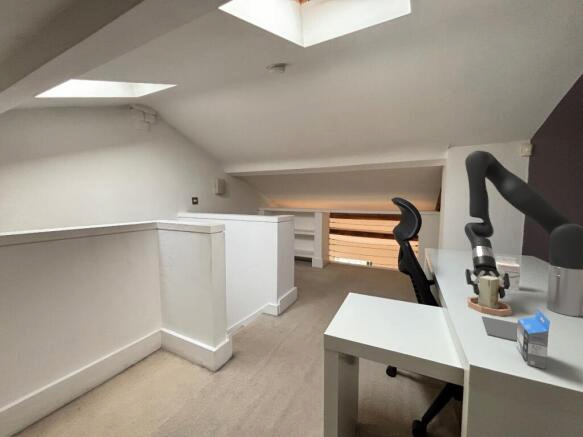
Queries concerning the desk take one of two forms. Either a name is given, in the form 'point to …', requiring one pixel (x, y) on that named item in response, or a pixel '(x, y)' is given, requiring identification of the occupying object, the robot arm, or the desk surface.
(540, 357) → the label tape cartridge
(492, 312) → the ring
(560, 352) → the desk surface
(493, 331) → the mat
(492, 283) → the skincare box
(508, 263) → the ink cartridge box
